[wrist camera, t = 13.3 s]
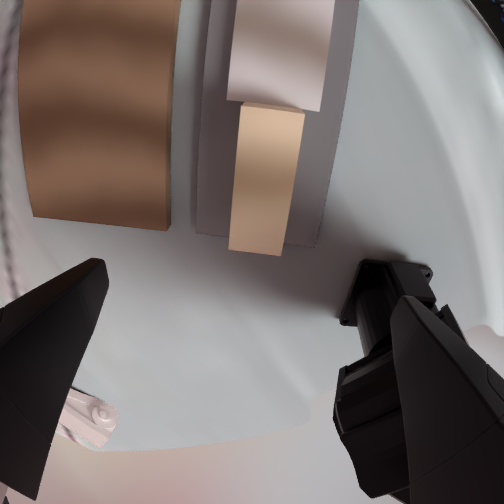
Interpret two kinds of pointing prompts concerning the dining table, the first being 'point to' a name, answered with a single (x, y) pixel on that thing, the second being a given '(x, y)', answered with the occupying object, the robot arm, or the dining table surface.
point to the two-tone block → (273, 110)
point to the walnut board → (98, 109)
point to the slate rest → (227, 127)
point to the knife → (492, 16)
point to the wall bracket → (89, 417)
